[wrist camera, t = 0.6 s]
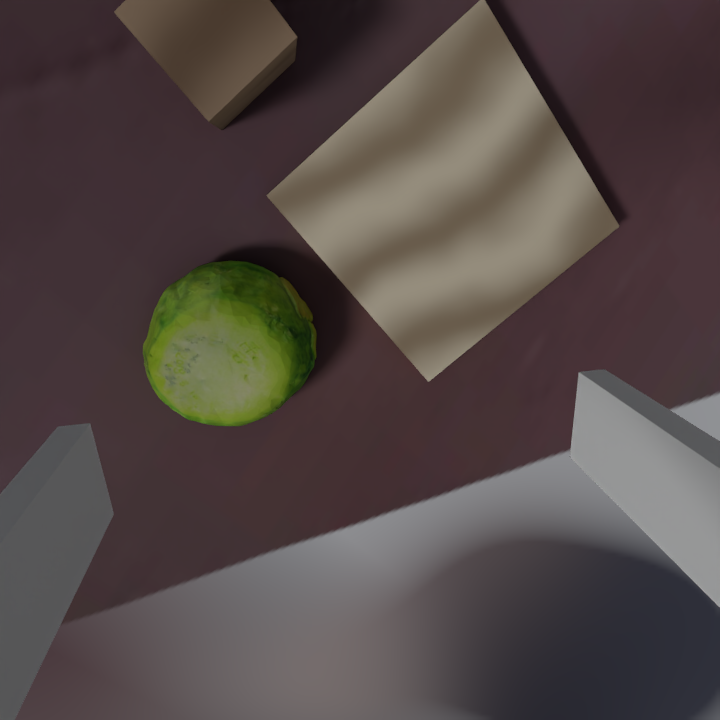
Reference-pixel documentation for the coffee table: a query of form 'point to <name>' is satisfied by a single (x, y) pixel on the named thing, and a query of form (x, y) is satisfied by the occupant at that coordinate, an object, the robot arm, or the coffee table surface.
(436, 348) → the oak board
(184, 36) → the walnut cube
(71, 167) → the coffee table surface
